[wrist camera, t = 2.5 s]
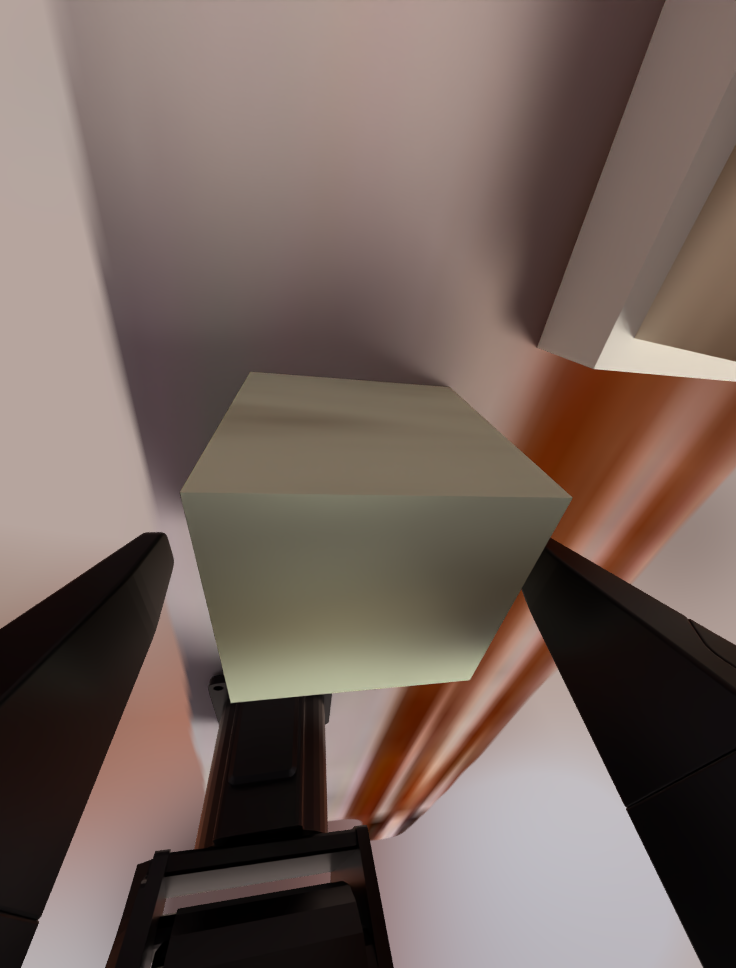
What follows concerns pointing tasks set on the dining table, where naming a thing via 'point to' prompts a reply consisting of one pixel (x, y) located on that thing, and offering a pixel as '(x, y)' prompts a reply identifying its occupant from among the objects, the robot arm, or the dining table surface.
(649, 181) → the bottom slab
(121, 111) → the dining table surface
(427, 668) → the sage cube
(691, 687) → the robot arm
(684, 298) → the top slab
